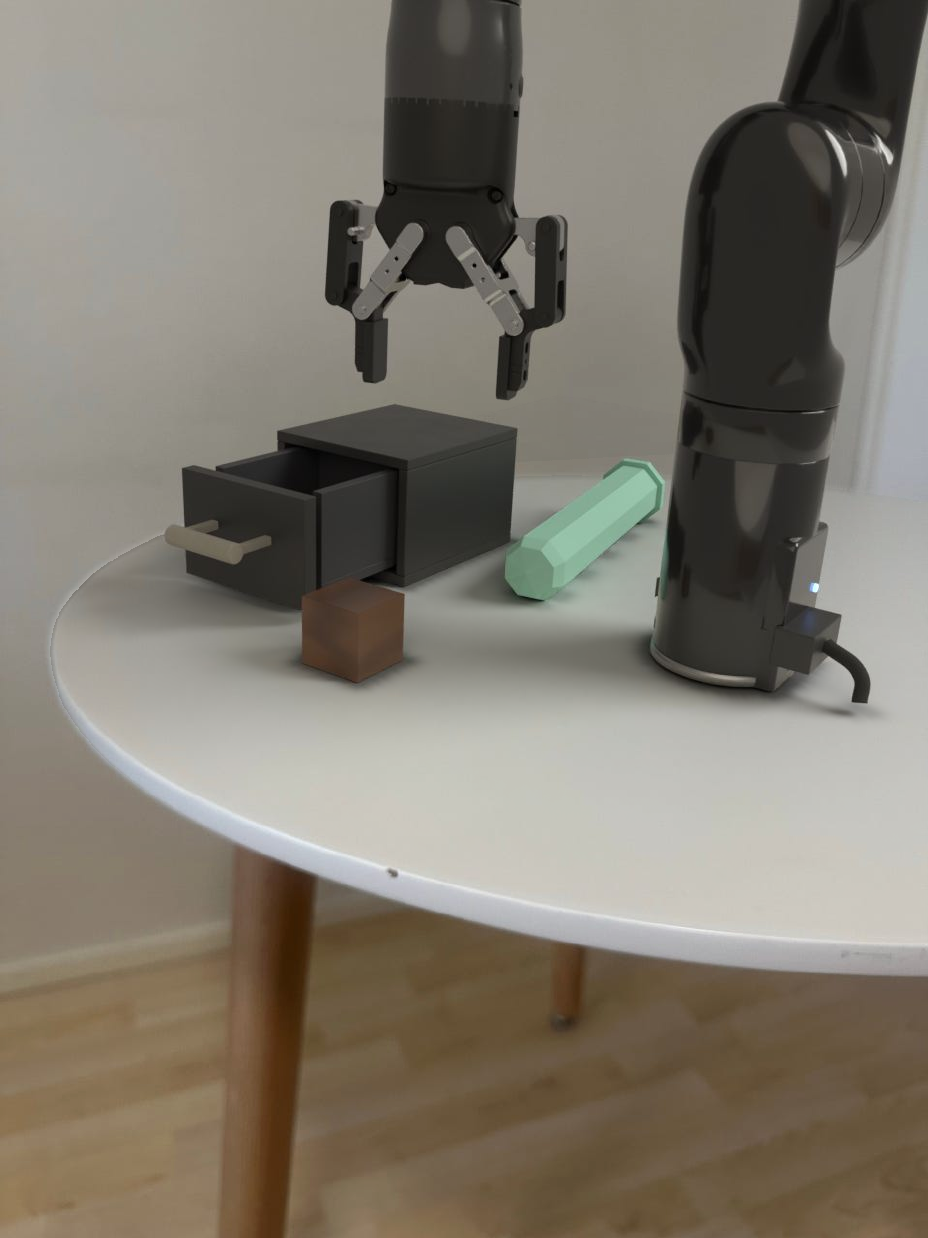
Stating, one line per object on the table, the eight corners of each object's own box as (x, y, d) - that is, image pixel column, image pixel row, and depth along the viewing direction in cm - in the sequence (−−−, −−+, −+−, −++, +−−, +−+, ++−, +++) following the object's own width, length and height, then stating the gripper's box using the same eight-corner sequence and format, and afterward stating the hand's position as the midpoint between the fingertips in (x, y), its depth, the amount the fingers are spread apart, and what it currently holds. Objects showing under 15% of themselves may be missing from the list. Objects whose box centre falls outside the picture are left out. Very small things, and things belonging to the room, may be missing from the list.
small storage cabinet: (404, 587, 85) (407, 460, 82) (278, 549, 92) (276, 430, 88) (510, 541, 96) (518, 427, 93) (391, 510, 103) (394, 403, 99)
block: (403, 660, 73) (405, 593, 71) (357, 683, 70) (358, 614, 68) (348, 641, 75) (349, 576, 74) (301, 663, 72) (301, 595, 70)
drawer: (260, 630, 74) (257, 514, 71) (140, 588, 80) (133, 479, 77) (424, 562, 88) (428, 462, 85) (311, 531, 94) (311, 436, 91)
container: (550, 527, 80) (656, 450, 101) (478, 544, 83) (595, 465, 104) (575, 606, 81) (674, 514, 102) (502, 620, 84) (613, 527, 105)
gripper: (305, 86, 62) (305, 386, 69) (559, 97, 58) (535, 415, 64) (362, 94, 69) (357, 367, 75) (594, 104, 65) (569, 392, 71)
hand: (439, 389), depth 70 cm, fingers open, 8 cm apart
